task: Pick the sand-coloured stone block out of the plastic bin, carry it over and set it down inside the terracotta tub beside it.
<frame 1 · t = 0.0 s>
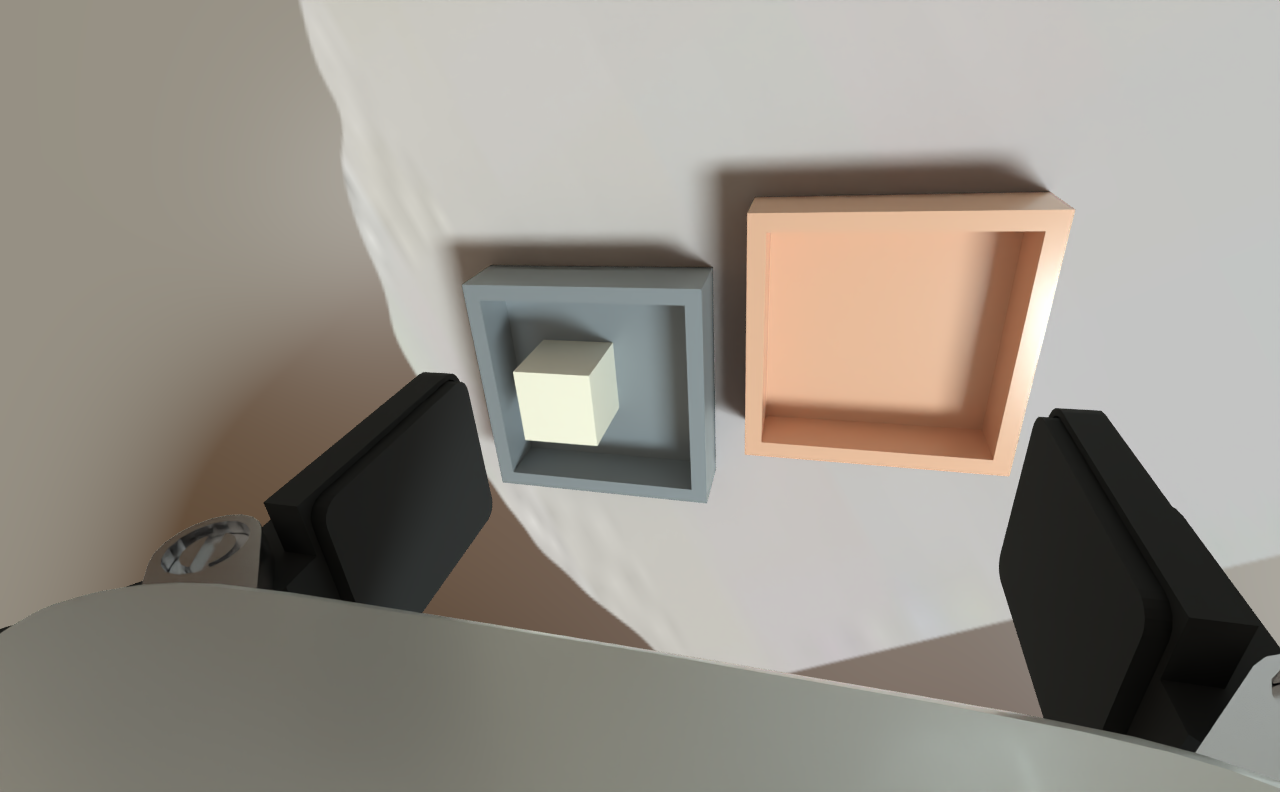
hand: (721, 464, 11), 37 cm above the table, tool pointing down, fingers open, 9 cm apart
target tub: (879, 323, 46), on the table
stone block: (581, 374, 54), point 1 cm above the table, touching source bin
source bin: (607, 371, 54), on the table
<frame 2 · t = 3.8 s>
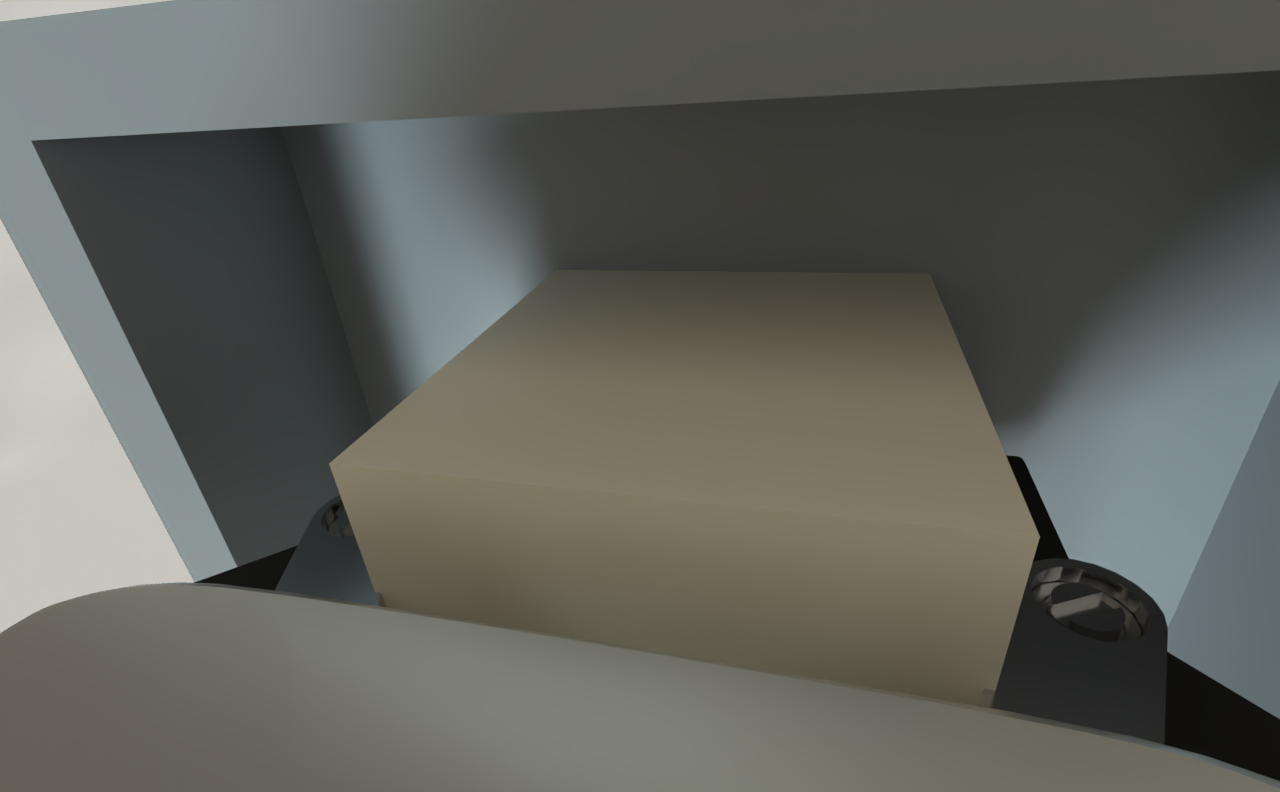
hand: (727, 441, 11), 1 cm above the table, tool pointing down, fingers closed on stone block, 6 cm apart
stone block: (730, 429, 12), point 1 cm above the table, touching gripper, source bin
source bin: (735, 491, 13), on the table
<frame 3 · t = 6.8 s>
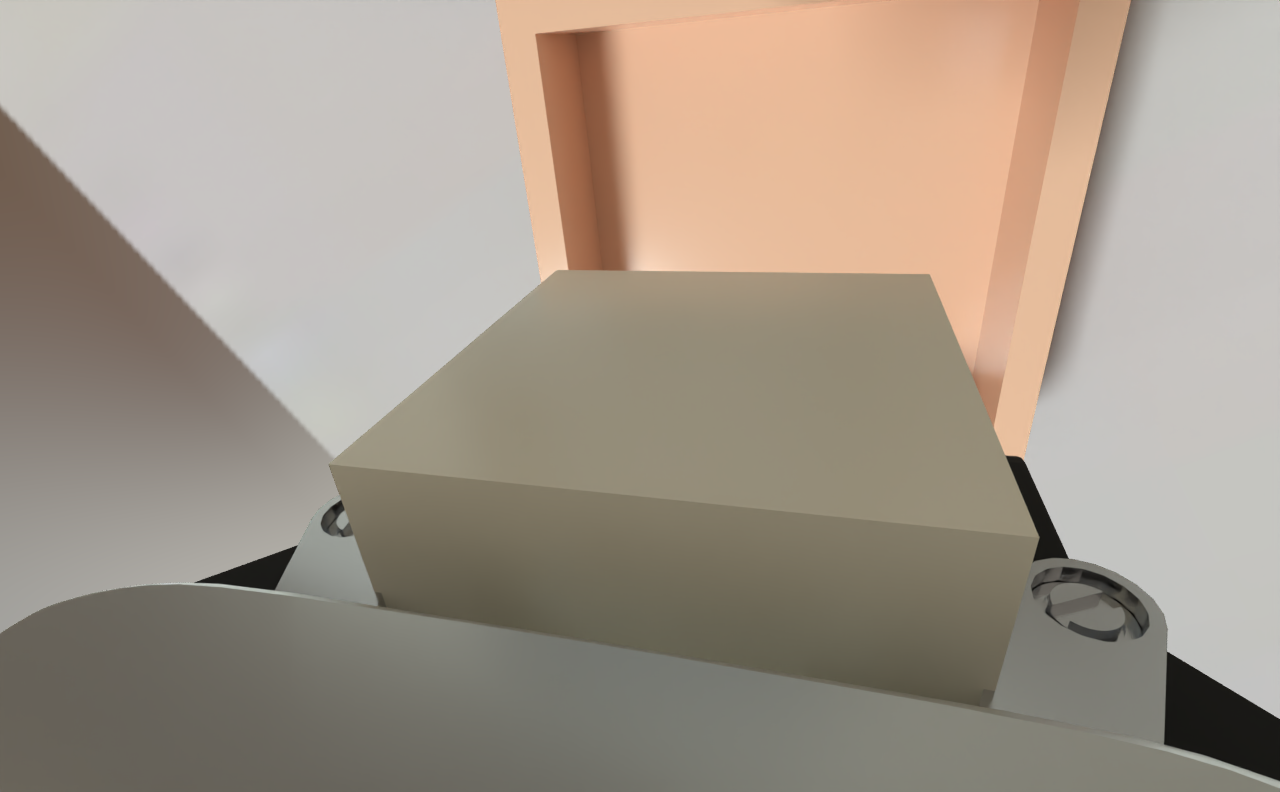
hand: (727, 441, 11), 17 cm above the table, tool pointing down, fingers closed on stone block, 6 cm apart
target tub: (784, 231, 27), on the table
stone block: (730, 430, 12), point 17 cm above the table, touching gripper
when the fingers open (3 cm above the table, at t = 10.2 s): stone block drops 2 cm, resting on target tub.
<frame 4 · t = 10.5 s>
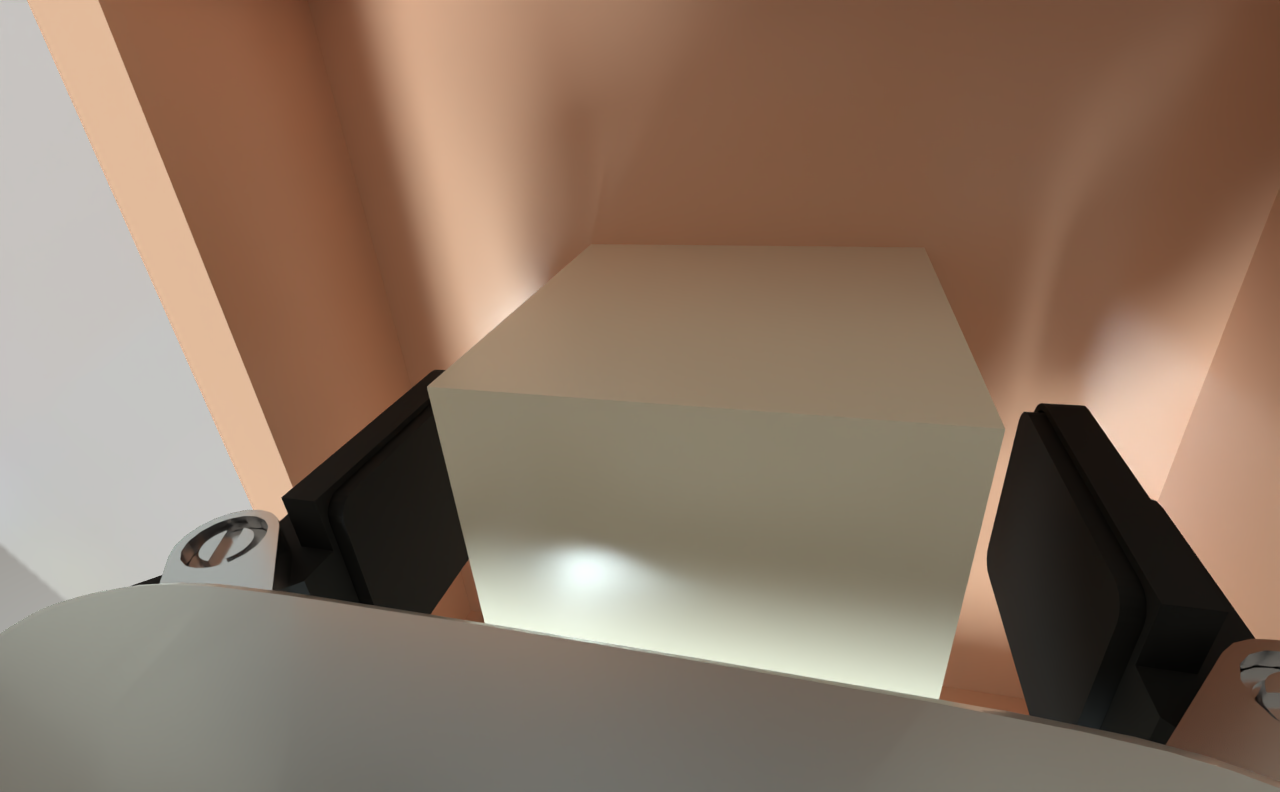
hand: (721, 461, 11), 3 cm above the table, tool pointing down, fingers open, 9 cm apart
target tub: (744, 372, 14), on the table
stone block: (744, 390, 13), point 1 cm above the table, touching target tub
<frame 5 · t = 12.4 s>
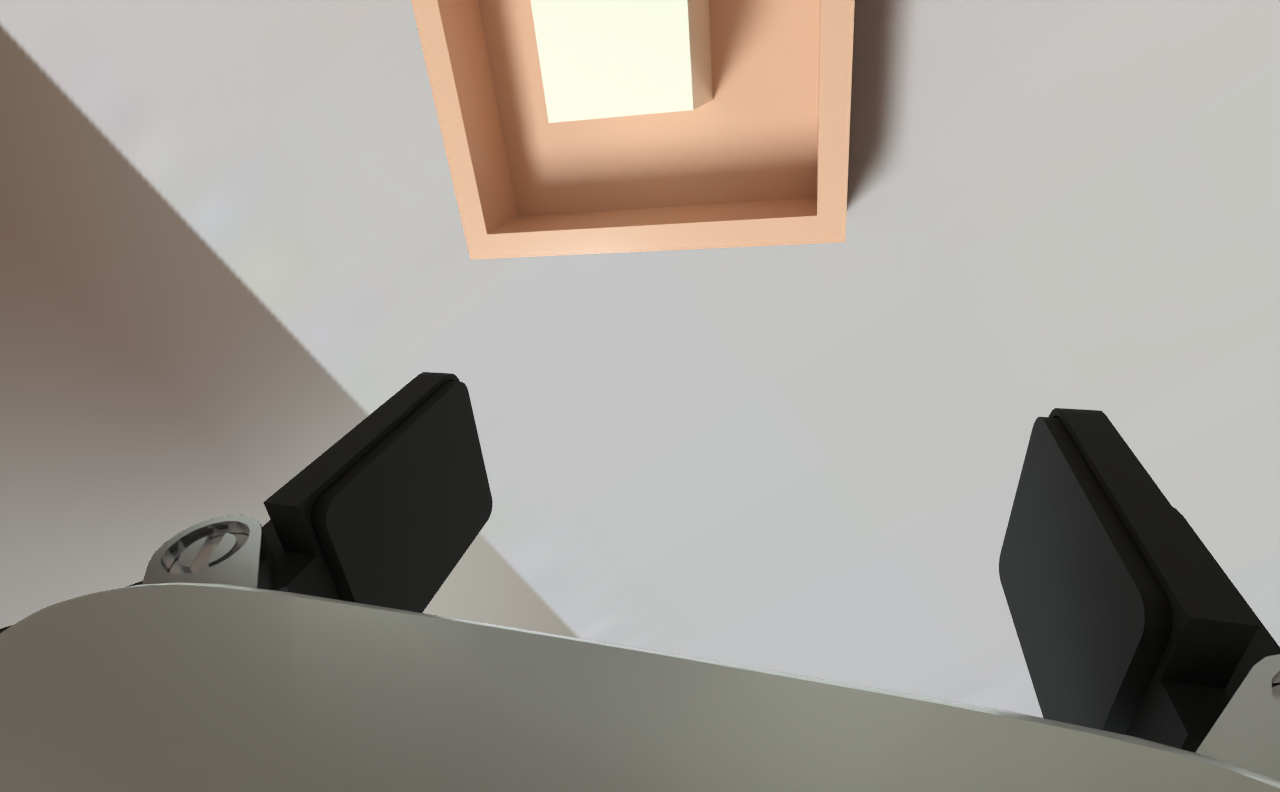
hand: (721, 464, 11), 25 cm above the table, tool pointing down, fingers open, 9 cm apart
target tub: (646, 34, 30), on the table
stone block: (644, 34, 29), point 1 cm above the table, touching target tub
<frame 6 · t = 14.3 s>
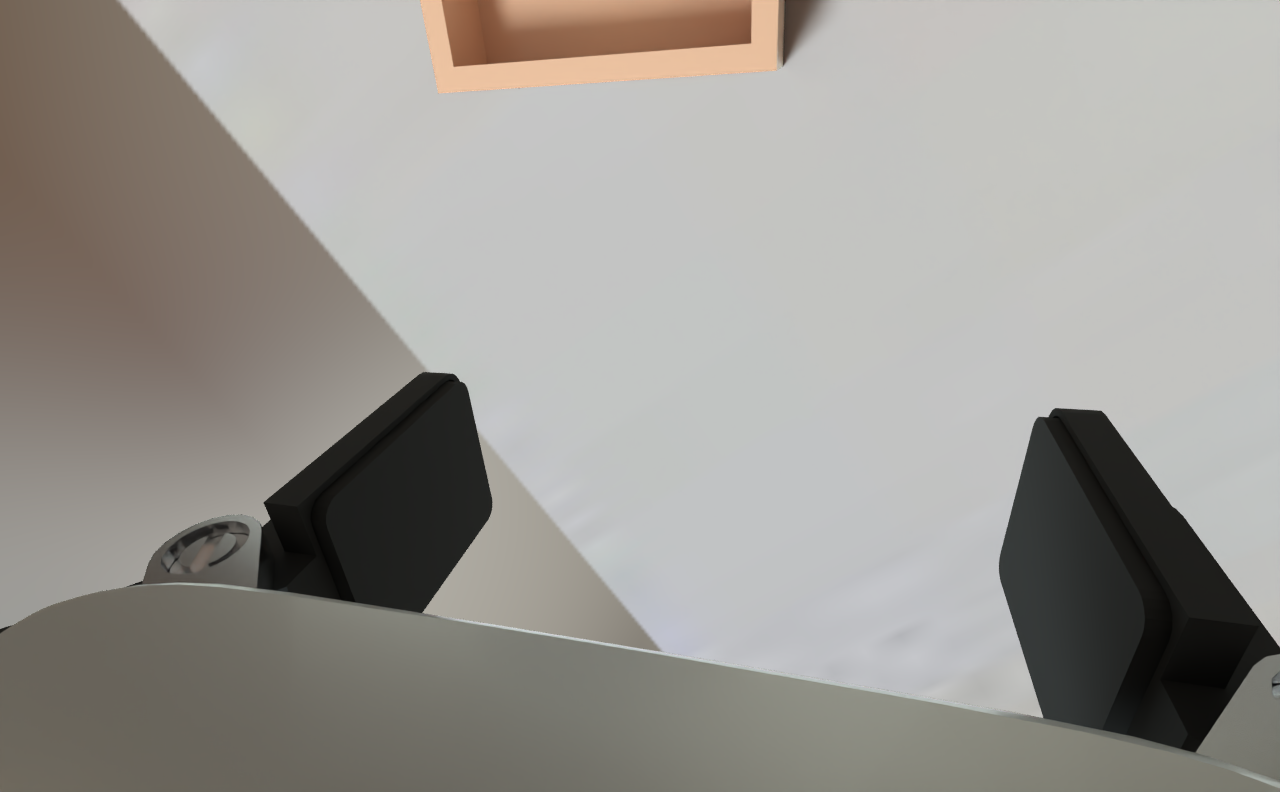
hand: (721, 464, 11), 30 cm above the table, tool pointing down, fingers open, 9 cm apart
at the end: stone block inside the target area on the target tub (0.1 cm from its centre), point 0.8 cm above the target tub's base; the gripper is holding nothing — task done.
